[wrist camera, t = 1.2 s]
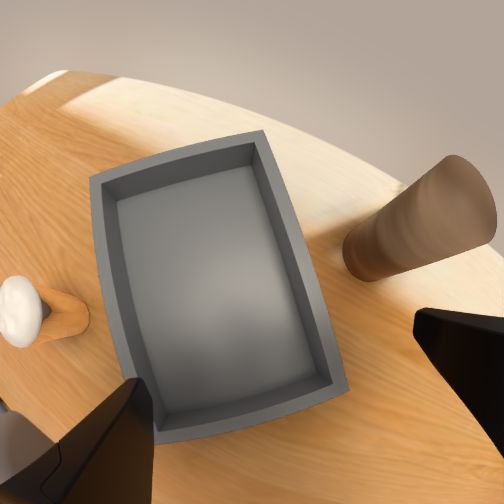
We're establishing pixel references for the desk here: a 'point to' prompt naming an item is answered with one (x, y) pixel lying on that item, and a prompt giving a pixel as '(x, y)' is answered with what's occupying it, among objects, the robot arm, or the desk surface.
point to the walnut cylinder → (424, 223)
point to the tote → (212, 288)
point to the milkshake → (38, 313)
